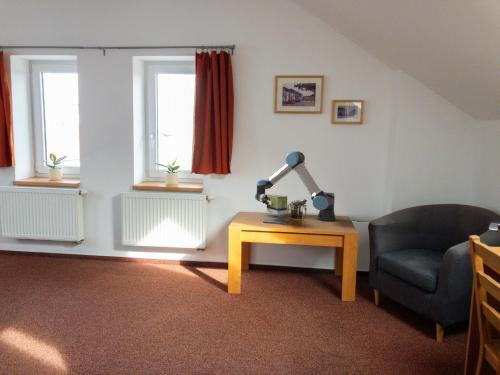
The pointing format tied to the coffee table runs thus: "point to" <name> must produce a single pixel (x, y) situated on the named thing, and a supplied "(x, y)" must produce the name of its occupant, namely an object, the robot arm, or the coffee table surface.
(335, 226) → the coffee table surface
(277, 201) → the tea box
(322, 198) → the robot arm
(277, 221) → the rubber mat
